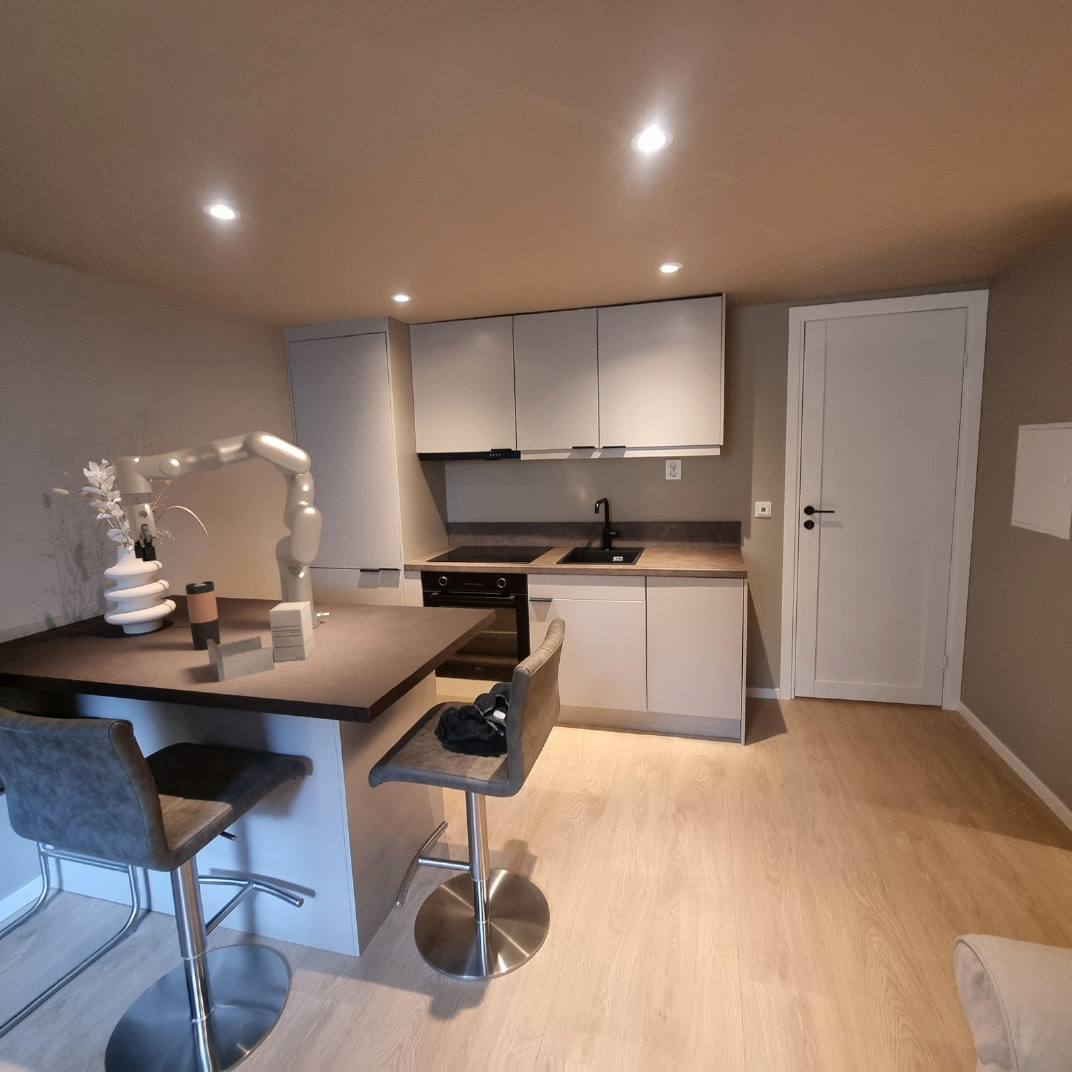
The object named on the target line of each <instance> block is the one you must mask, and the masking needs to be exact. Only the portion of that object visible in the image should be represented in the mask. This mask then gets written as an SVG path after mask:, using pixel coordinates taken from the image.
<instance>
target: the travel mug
mask: <svg viewBox="0 0 1072 1072" xmlns="http://www.w3.org/2000/svg"><path fill="white" fill-rule="evenodd" d="M185 593H186V594H185V595H186V601H187V610H188V618H189V619H188V620H189V627H190V631H191V632H190V633H191V638H192V644H193V649H194V650H196V651H206V650H207V651H208V645H207V640H208V639H212V640H213V641H214V642H215V644H216V645H219V644H221V635H220V623H219V614H218V613H219V612H218V606H217V599H216V592H215V584H214V582H213V581H203V582H202V583H195V582H193V583H189V584H186V585H185Z"/></svg>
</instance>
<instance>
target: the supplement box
mask: <svg viewBox="0 0 1072 1072" xmlns="http://www.w3.org/2000/svg"><path fill="white" fill-rule="evenodd" d="M268 614H269V615H268V616H269V621H270V622H269V625H270V631H271V632H270V634H271V640H272V641H271V642H272V652H273V661H274V663H275V662H277V663H278V662H291V661H303V660H307V659H308V658H309V657H310V656H311V654H312V653H313V652H314V651H315V650H316V646H315V637H314V628H313V627H312V617H311V608H310V602H309V601H307V602H293V603H283V602H281V603H279V604H277V605H276V606H275V607H273V608H272V609H270V610H269V611H268Z"/></svg>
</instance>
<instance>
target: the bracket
mask: <svg viewBox="0 0 1072 1072" xmlns="http://www.w3.org/2000/svg"><path fill="white" fill-rule="evenodd" d="M207 645H208V649H207V651H208V652H207V653H208V658H209V659H208V660H209V667H210V670H211V671H212V672H213V674H214V676H215V677H216V678H217V680H218V682H219V683H221V682H225V681H230V680H234V679H237V678H241V677H242V678H243V677H246V676H250V675H255V674H258V673H262V672H266V671H272V670H274V669H275V661H274V652H273V646H266V647H263V646H262V641H261V636H260V635H257V636H253V637H248V638H244V639H239V640H233V641H228V642H225V643H220V644H219V645H216V644H215V642H214V641H213V640H212V639H208V640H207ZM262 647H263V648H262Z"/></svg>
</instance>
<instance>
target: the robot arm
mask: <svg viewBox="0 0 1072 1072" xmlns="http://www.w3.org/2000/svg"><path fill="white" fill-rule="evenodd" d="M261 459H262V460H264V461H265V462H267V463H270V464H272V465H273V466H274V468H275V470H276V471H277V472H278V473H279V474H281V475H282V477H283V478H284V480H285V482H286V486H287V487H286V499H285V503H284V504H285V505H284V510H283V511H284V512H283V515H282V516H283V517H282V520H283V524H284V526H285V527H286V528H287V530H290V534H289V535H286V536H283V537H282V538H281V539H279V540H278V541H277V543H276V545H275V551H274V552H275V559H276V562H277V567H278V572H279V581H280V591H281V601H282V602H281V603H293V602H307V601H309V602H310V608H311V617H312V627H313V629H316V628H318V627H319V626H320V625H321V622H320V620H321V619H323V618H324V619H325V618H329V617H330V613H329V611H325V612H323V611H318V612H317V611H315V609H314V606H315V605H314V599H313V598H314V597H313V588H312V587H313V586H312V577H311V569H310V567H309V566H310V565H312V563H314V562H315V560H316V558H317V557H318V554H319V549H320V543H321V536H322V529H323V515H322V513H321V511H320V510H319V508H317V507H316V506H315V505H314V500H315V481H314V477H313V475H312V473H311V472H310V469H311V466H312V460H311V457H310V455H309V454H308V453H307V452H306V451H305V450H303V449H302V448H301V447H299V446H296V445H294V444H292V443H290V442H288V441H286V440H284V439H282V438H280V437H278V436H276V435H274V434H272V433H270V432H268V431H264V430H258V431H253V432H249V433H243V434H239V435H235V436H230V437H225V438H222V439H221V438H220V439H216V440H212V441H211V440H210V441H209V442H204V443H202V444H199V445H196V446H192V447H188V448H185V449H180V450H177V451H171V452H169V453H168V452H167V453H163V454H156V455H149V456H143V455H142V456H141V455H126V456H119V457H117V458H115V462H114V463H115V471H116V477H117V485H118V490H119V497H120V502H121V503H120V504H121V507H126V513H127V520H128V521H127V522H128V527H129V532H130V537H131V539H133V549H134V556H135V559H138V560H139V559H141V560H142V562H143V563H148V562H155V561H156V560H157V554H156V553H157V552H156V548H155V544H154V540H155V539H156V540H157V537H158V533H157V528H156V523H155V517H154V513H153V510H152V509H153V508H152V506H151V505H154V504H155V503H154V496H153V489H152V482H151V481H154V480H155V481H160V482H161V481H165V482H166V481H167V482H168V481H172V480H175V479H176V478H178V477H181V476H182V477H183V476H185V475H186V476H187V475H190V474H195V473H200V472H207V471H217V470H221V469H225V468H229V467H234V466H237V465H241V464H245V463H248V462H253V461H257V460H261ZM153 539H154V540H153Z"/></svg>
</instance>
